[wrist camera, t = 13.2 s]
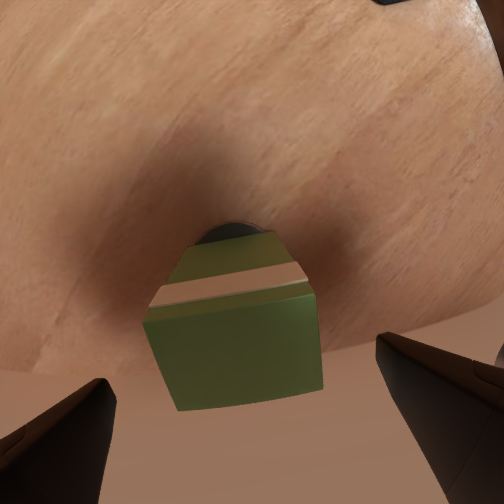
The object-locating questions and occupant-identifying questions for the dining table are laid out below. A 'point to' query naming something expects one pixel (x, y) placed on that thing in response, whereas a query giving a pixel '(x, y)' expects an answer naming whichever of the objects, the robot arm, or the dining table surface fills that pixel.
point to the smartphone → (388, 1)
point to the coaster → (229, 231)
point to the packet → (236, 325)
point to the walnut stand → (495, 23)
